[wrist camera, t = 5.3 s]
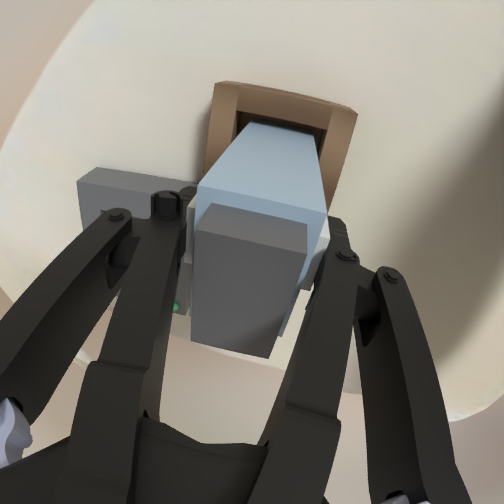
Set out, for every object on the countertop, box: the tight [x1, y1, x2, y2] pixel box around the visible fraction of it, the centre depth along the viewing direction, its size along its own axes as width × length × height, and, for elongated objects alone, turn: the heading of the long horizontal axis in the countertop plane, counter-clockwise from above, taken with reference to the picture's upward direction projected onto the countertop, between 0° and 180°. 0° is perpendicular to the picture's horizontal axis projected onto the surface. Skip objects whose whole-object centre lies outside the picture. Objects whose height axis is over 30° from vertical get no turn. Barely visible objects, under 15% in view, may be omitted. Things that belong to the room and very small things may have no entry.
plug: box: [190, 118, 327, 359], centre depth 15 cm, size 6×4×14 cm, turn 170°
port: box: [77, 167, 198, 315], centre depth 25 cm, size 12×10×3 cm
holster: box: [203, 81, 358, 214], centre depth 20 cm, size 10×8×3 cm
